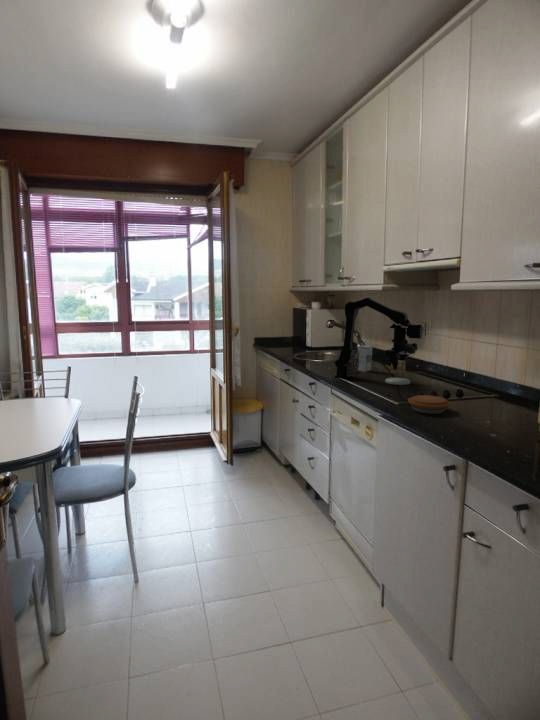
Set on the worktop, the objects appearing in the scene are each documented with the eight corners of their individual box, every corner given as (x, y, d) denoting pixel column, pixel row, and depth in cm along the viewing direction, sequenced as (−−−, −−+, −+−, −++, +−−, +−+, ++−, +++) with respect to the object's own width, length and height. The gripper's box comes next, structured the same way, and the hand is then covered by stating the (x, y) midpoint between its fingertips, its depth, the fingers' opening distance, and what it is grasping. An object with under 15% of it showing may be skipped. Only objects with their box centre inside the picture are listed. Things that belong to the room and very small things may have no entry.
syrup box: (363, 369, 261) (363, 344, 258) (371, 370, 256) (372, 345, 254) (357, 370, 257) (358, 345, 254) (365, 372, 252) (366, 346, 250)
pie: (437, 404, 181) (438, 392, 180) (457, 415, 166) (458, 402, 165) (400, 405, 179) (401, 393, 179) (417, 416, 164) (418, 403, 163)
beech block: (400, 372, 220) (400, 362, 219) (390, 370, 224) (391, 360, 223) (405, 370, 223) (405, 360, 223) (396, 369, 227) (396, 359, 226)
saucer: (402, 385, 216) (402, 383, 216) (380, 382, 224) (380, 380, 224) (414, 382, 224) (414, 380, 224) (393, 379, 233) (393, 376, 233)
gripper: (405, 340, 209) (403, 373, 211) (424, 337, 222) (422, 368, 224) (384, 338, 217) (382, 370, 219) (403, 335, 230) (401, 365, 232)
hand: (398, 368), depth 223 cm, fingers closed on beech block, 5 cm apart
